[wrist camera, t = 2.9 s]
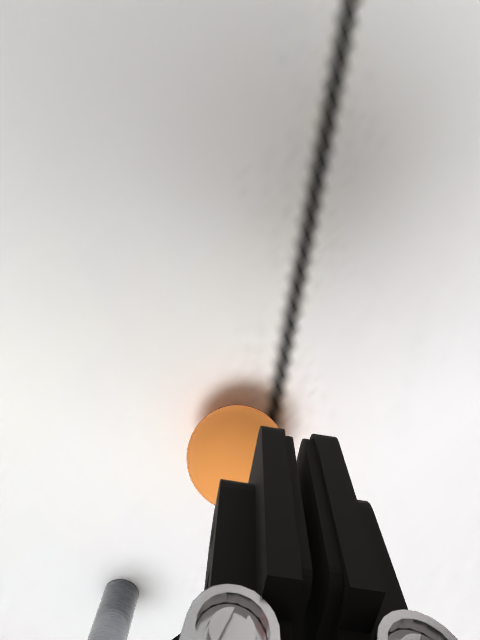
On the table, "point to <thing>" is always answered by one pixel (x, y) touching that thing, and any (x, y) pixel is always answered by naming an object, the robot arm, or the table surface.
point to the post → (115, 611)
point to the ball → (224, 447)
